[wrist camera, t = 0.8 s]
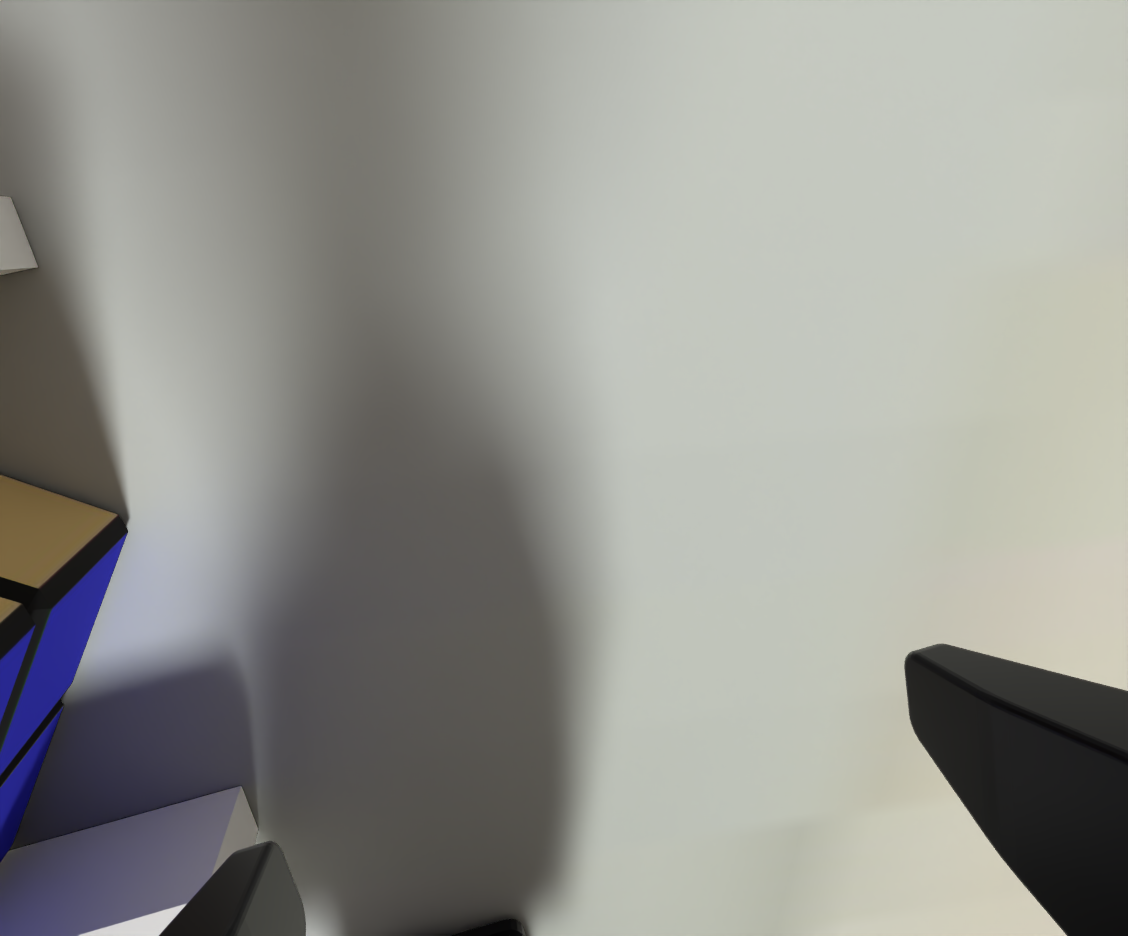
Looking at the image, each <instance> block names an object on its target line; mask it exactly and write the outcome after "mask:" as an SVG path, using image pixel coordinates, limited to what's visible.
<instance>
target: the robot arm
mask: <svg viewBox="0 0 1128 936" xmlns="http://www.w3.org/2000/svg"><path fill="white" fill-rule="evenodd" d="M905 678H906V688H907V697H908V707H909V716H910V721H911V724H912V727H913V729H914V732H915V734H916V736H917V737H918V739H919V741H920V742H921V744H922V745H923V746H924V748H925V749H926V751H927V752H928V754H929V755H930V757H931V758H932V759H933V761H934V762H935V764H936V765H937V767H938V768H939V769H940V771H941V772H942V774H943V775H944V777H945V778H946V780H947V781H948V782H949V784H950V785H951V787H952V788H953V790H954V791H955V793H956V794H957V795H958V797H959V798H960V800H961V801H962V803H963V804H964V806H965V807H966V808H967V810H968V811H969V813H970V814H971V816H972V817H973V819H974V820H975V821H976V823H977V824H978V826H979V827H980V829H981V830H982V832H983V833H984V834H985V836H986V837H987V839H988V840H989V841H990V843H991V844H992V845H993V847H994V848H995V850H996V851H997V852H998V854H999V855H1000V856H1001V858H1002V859H1003V860H1004V861H1005V863H1006V864H1007V865H1008V866H1009V867H1010V869H1011V870H1012V871H1013V872H1014V874H1015V875H1016V876H1017V877H1018V878H1019V880H1020V881H1021V882H1022V883H1023V884H1024V886H1025V887H1026V888H1027V889H1028V890H1029V891H1030V893H1031V894H1032V895H1033V896H1034V897H1035V898H1036V900H1037V901H1038V902H1039V903H1040V904H1041V905H1042V907H1043V908H1044V909H1045V910H1046V911H1047V913H1048V914H1049V915H1050V916H1051V917H1052V918H1053V920H1054V921H1055V922H1056V923H1057V924H1058V925H1059V927H1060V928H1061V929H1062V930H1063V931H1064V932H1065V934H1066V935H1067V936H1128V691H1126V690H1122V689H1118V688H1114V687H1110V686H1106V685H1102V684H1098V683H1095V682H1091V681H1087V680H1083V679H1079V678H1075V677H1071V676H1067V675H1063V674H1060V673H1056V672H1052V671H1048V670H1044V669H1040V668H1036V667H1032V666H1028V665H1025V664H1021V663H1017V662H1013V661H1009V660H1005V659H1001V658H997V657H994V656H990V655H986V654H982V653H978V652H974V651H970V650H966V649H963V648H959V647H955V646H951V645H947V644H936V645H932V646H929V647H926V648H922V649H919V650H916V651H912V652H910V653H909V654H908V655H907V657H906V658H905ZM159 936H306V922H305V913H304V908H303V904H302V901H301V898H300V895H299V893H298V890H297V888H296V885H295V883H294V880H293V877H292V875H291V872H290V870H289V867H288V865H287V862H286V860H285V857H284V854H283V852H282V850H281V848H280V847H279V846H278V844H277V843H275V842H272V841H267V842H264V843H260V844H257V845H253V846H250V847H247V848H243V849H240V850H237V851H235V852H234V853H232V854H231V855H230V856H229V857H228V858H227V859H226V861H225V862H224V863H223V864H222V865H221V866H220V867H219V868H218V870H217V871H216V872H215V873H214V874H213V875H212V876H211V877H210V879H209V880H208V881H207V882H206V883H205V884H204V885H203V886H202V887H201V889H200V890H199V891H198V892H197V893H196V894H195V895H194V896H193V898H192V899H191V900H190V901H189V902H188V903H187V904H186V905H185V907H184V908H183V909H182V910H181V911H180V912H179V913H178V914H177V916H176V917H175V918H174V919H173V920H172V921H171V922H170V923H169V924H168V926H167V927H166V928H165V929H164V930H163V931H162V932H161V933H160V935H159ZM452 936H526V934H525V931H524V927H523V926H522V924H521V923H520V922H519V921H517V920H514V919H505V920H501V921H498V922H495V923H491V924H488V925H485V926H482V927H478V928H475V929H472V930H469V931H465V932H462V933H459V934H455V935H452Z"/></svg>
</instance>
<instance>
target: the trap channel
mask: <svg viewBox="0 0 1128 936" xmlns="http://www.w3.org/2000/svg"><path fill="white" fill-rule="evenodd" d="M37 267H38V265H37V263H36V260H35V258H34V255H33V253H32V250H31V247H30V245H29V242H28V240H27V237H26V235H25V232H24V230H23V227H22V225H21V222H20V219H19V217H18V214H17V212H16V209H15V207H14V204H13V202H12V199H11V197H4V196H0V275H4V274H8V273H13V272H18V271H23V270H27V269H32V268H37ZM257 834H258V827H257V825H256V822H255V819H254V817H253V814H252V812H251V809H250V807H249V804H248V802H247V799H246V796H245V794H244V791H243V789H242V786H238V787H235V788H231V789H228V790H224V791H221V792H217V793H213V794H210V795H206V796H203V797H199V798H196V799H192V800H188V801H185V802H181V803H178V804H174V805H171V806H167V807H163V808H160V809H156V810H153V811H149V812H146V813H142V814H138V815H135V816H131V817H128V818H124V819H121V820H117V821H113V822H110V823H106V824H103V825H99V826H96V827H92V828H88V829H85V830H81V831H78V832H74V833H71V834H67V835H63V836H60V837H56V838H53V839H49V840H46V841H42V842H38V843H35V844H31V845H28V846H24V847H21V848H17V849H13V850H10V851H8V852H7V854H6V855H5V857H4V858H3V860H2V861H1V862H0V936H159V935H160V933H161V932H162V931H163V930H164V929H165V928H166V927H167V926H168V924H169V923H170V922H171V921H172V920H173V919H174V918H175V917H176V916H177V914H178V913H179V912H180V911H181V910H182V909H183V908H184V907H185V905H186V904H187V903H188V902H189V901H190V900H191V899H192V898H193V896H194V895H195V894H196V893H197V892H198V891H199V890H200V889H201V887H202V886H203V885H204V884H205V883H206V882H207V881H208V880H209V879H210V877H211V876H212V875H213V874H214V873H215V872H216V871H217V870H218V868H219V867H220V866H221V865H222V864H223V863H224V862H225V861H226V859H227V858H228V857H229V856H230V855H231V854H232V853H234V852H235V851H237V850H240V849H243V848H247V847H250V846H253V845H255V841H256V838H257Z"/></svg>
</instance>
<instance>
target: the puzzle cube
mask: <svg viewBox="0 0 1128 936" xmlns="http://www.w3.org/2000/svg"><path fill="white" fill-rule="evenodd" d="M127 533H128V529H127V528H126V526H125V524H124V523H123V521H122V519H121V517H120V516H119V515H118V514H116V513H113V512H110V511H107V510H104V509H101V508H98V507H95V506H92V505H89V504H86V503H83V502H80V501H77V500H74V499H71V498H68V497H65V496H62V495H60V494H57V493H54V492H51V491H48V490H45V489H42V488H39V487H36V486H33V485H30V484H27V483H24V482H21V481H18V480H15V479H12V478H9V477H6V476H4V475H1V474H0V862H1V861H2V860H3V858H4V857H5V855H6V854H7V852H8V851H9V849H10V848H11V846H12V844H13V842H14V839H15V836H16V833H17V831H18V828H19V825H20V823H21V820H22V817H23V814H24V812H25V809H26V806H27V804H28V801H29V798H30V796H31V793H32V790H33V787H34V785H35V782H36V779H37V777H38V774H39V771H40V768H41V766H42V763H43V760H44V758H45V755H46V752H47V750H48V747H49V744H50V741H51V739H52V736H53V733H54V731H55V728H56V725H57V722H58V720H59V717H60V714H61V712H62V709H63V706H64V705H63V703H62V702H61V700H60V698H61V697H62V696H63V694H64V693H65V692H66V690H67V689H68V688H69V687H70V685H71V684H72V682H73V679H74V676H75V674H76V671H77V668H78V666H79V663H80V660H81V658H82V655H83V652H84V649H85V647H86V644H87V641H88V639H89V636H90V633H91V630H92V628H93V625H94V622H95V620H96V617H97V614H98V612H99V609H100V606H101V603H102V601H103V598H104V595H105V593H106V590H107V587H108V584H109V582H110V579H111V576H112V574H113V571H114V568H115V566H116V563H117V560H118V557H119V555H120V552H121V549H122V547H123V544H124V541H125V538H126V536H127Z"/></svg>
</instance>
